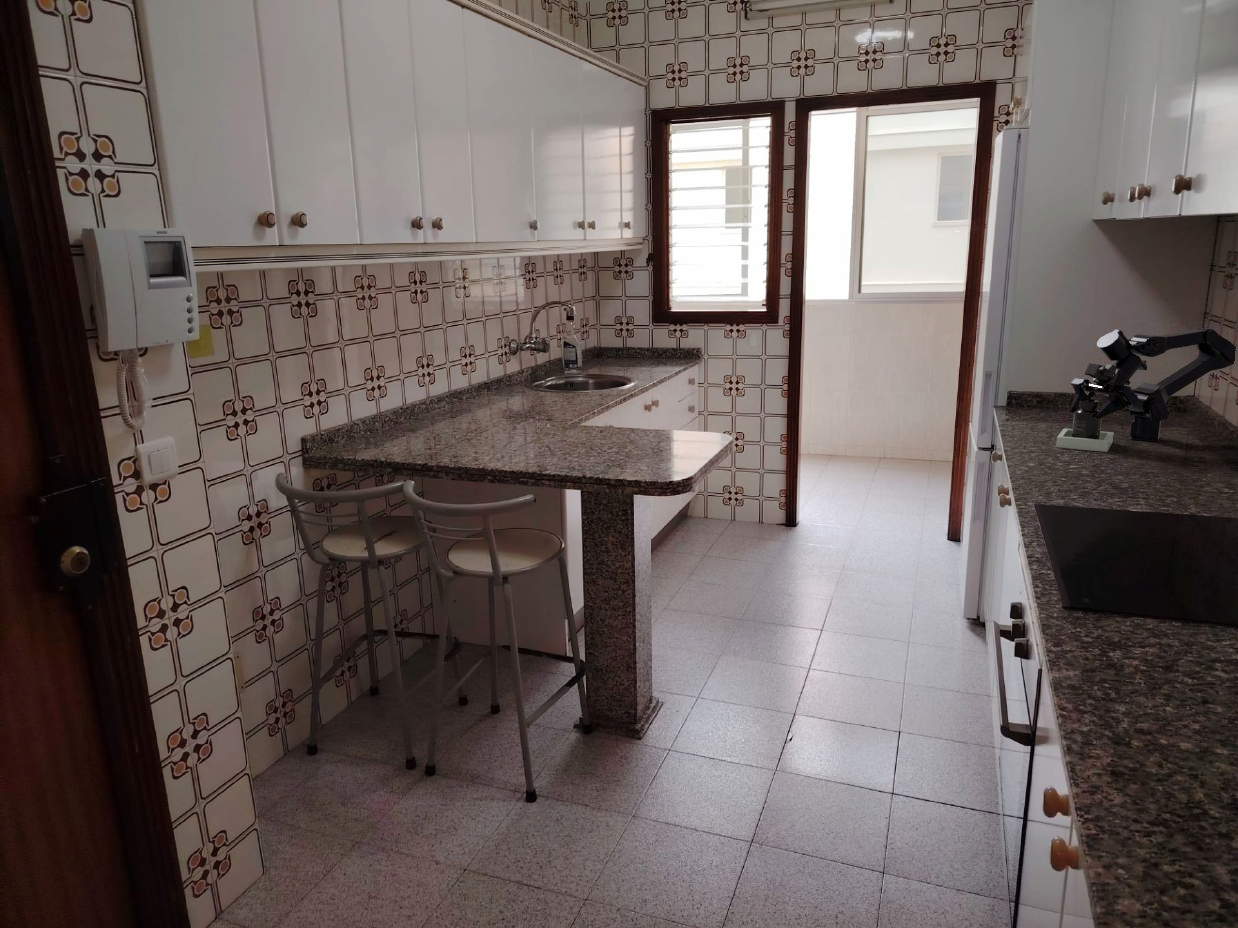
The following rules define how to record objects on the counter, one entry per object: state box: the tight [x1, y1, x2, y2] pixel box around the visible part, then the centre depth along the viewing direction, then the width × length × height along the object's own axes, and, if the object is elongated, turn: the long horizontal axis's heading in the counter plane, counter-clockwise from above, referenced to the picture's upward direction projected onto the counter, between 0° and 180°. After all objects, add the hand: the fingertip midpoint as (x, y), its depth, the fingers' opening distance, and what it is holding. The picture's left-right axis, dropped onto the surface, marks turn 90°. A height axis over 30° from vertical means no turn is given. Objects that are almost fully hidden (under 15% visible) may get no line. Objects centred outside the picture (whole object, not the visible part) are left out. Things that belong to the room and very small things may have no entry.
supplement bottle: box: [1071, 399, 1103, 440], centre depth 234 cm, size 7×7×12 cm
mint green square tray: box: [1055, 427, 1114, 453], centre depth 235 cm, size 12×12×3 cm
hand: (1083, 414), depth 233 cm, fingers open, 9 cm apart
